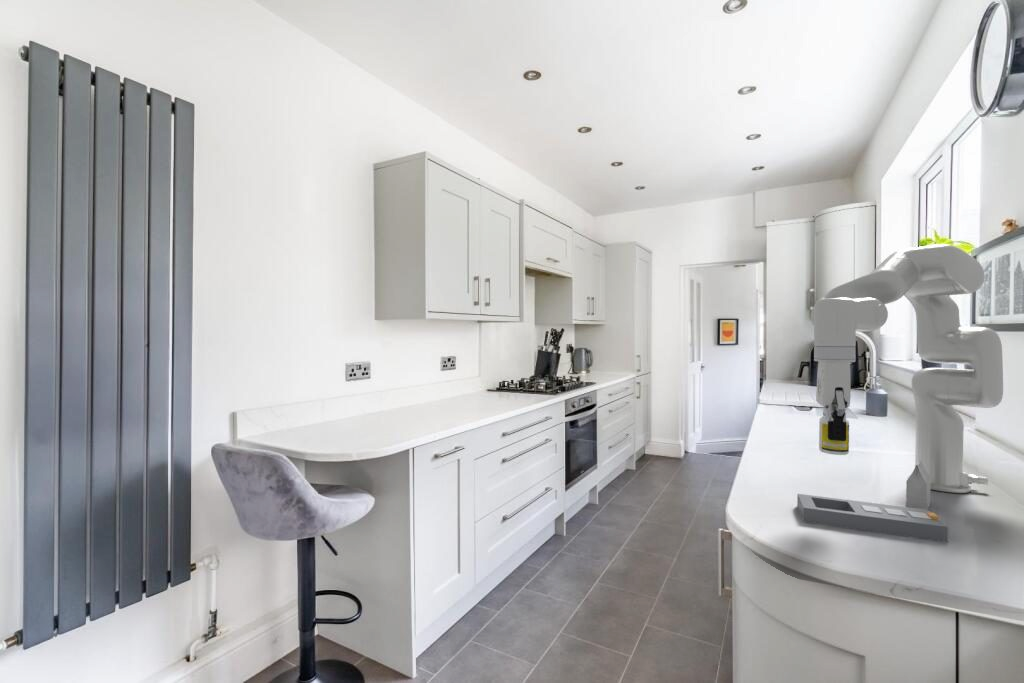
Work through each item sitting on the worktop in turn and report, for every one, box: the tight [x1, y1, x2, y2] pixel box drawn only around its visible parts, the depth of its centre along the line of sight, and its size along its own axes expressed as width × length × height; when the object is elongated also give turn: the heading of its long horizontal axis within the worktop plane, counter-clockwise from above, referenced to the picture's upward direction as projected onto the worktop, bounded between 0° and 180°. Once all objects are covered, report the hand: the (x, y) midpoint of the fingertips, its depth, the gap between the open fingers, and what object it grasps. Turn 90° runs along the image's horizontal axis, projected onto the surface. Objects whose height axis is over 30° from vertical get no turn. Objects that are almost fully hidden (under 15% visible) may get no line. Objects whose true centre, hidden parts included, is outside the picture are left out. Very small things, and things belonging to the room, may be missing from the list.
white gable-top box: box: [905, 460, 932, 510], centre depth 112 cm, size 4×7×10 cm, turn 133°
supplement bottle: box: [818, 407, 850, 456], centre depth 103 cm, size 5×5×10 cm
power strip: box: [796, 493, 949, 543], centre depth 101 cm, size 24×10×4 cm, turn 65°
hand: (833, 436), depth 103 cm, fingers closed on supplement bottle, 5 cm apart
